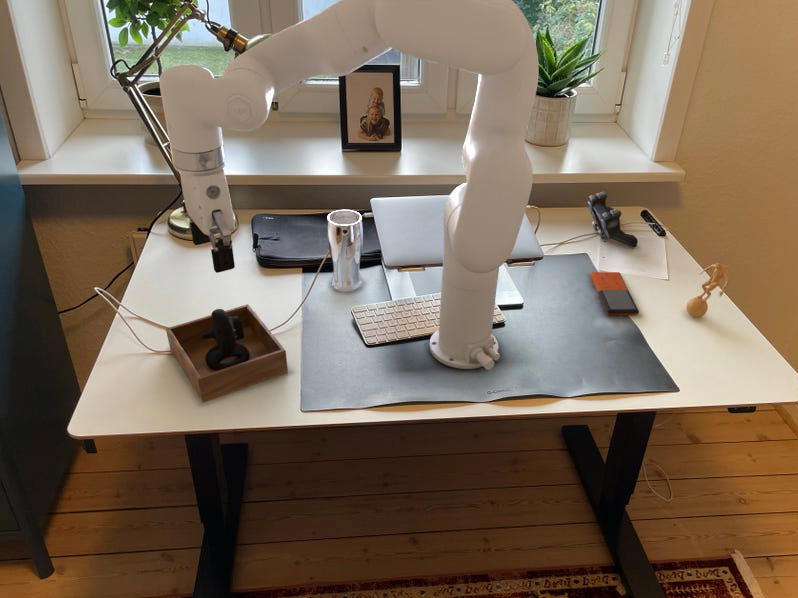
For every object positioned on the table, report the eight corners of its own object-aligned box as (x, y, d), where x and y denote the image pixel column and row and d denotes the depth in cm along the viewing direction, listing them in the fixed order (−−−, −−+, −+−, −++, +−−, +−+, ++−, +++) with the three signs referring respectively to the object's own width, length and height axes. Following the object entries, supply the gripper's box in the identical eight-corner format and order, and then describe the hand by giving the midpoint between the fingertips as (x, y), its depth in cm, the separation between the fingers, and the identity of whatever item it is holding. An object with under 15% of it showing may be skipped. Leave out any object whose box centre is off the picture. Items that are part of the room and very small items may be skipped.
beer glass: (358, 295, 149) (357, 228, 140) (325, 290, 150) (321, 223, 141) (367, 277, 154) (367, 211, 145) (335, 272, 155) (332, 207, 146)
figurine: (676, 304, 151) (691, 252, 144) (703, 302, 152) (720, 251, 145) (694, 328, 145) (711, 275, 137) (723, 326, 146) (741, 273, 138)
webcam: (256, 366, 130) (249, 319, 123) (213, 378, 126) (204, 330, 120) (241, 342, 135) (235, 295, 129) (200, 353, 132) (191, 306, 126)
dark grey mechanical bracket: (589, 226, 181) (576, 194, 175) (615, 213, 180) (603, 180, 174) (613, 261, 169) (600, 227, 163) (641, 247, 168) (629, 212, 162)
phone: (620, 270, 158) (640, 311, 146) (619, 276, 159) (639, 316, 147) (590, 270, 158) (607, 311, 146) (589, 276, 158) (606, 316, 147)
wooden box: (288, 372, 129) (285, 350, 126) (202, 402, 122) (198, 379, 119) (251, 325, 140) (248, 303, 136) (170, 350, 133) (165, 328, 130)
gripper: (244, 172, 106) (256, 275, 117) (203, 131, 117) (217, 228, 128) (193, 182, 103) (209, 287, 113) (155, 139, 114) (173, 238, 125)
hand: (213, 256), depth 121 cm, fingers open, 9 cm apart
